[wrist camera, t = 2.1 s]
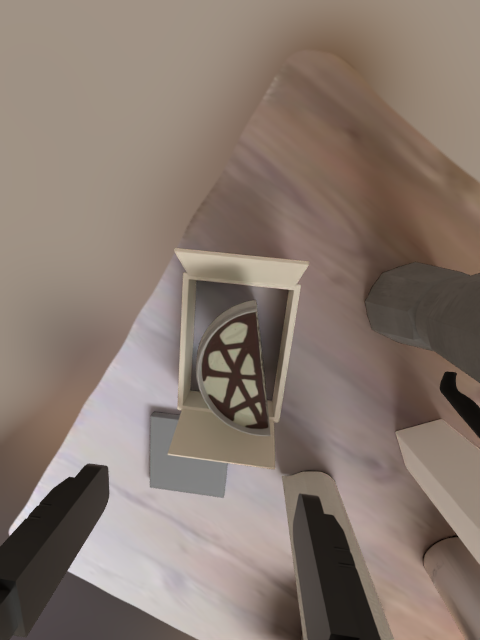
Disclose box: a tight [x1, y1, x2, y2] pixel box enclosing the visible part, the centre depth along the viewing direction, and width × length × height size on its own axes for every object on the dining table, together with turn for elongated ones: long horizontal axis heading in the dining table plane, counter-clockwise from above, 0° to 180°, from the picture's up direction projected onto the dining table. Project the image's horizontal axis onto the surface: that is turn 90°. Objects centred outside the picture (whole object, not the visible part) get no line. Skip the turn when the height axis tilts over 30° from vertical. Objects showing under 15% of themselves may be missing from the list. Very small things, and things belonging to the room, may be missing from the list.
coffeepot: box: [365, 262, 480, 438], centre depth 18 cm, size 15×9×18 cm, turn 177°
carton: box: [168, 248, 309, 469], centre depth 25 cm, size 12×20×8 cm, turn 174°
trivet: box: [150, 412, 228, 498], centre depth 32 cm, size 11×12×1 cm
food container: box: [196, 300, 271, 436], centre depth 24 cm, size 12×6×10 cm, turn 7°
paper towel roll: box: [282, 472, 394, 640], centre depth 22 cm, size 7×6×21 cm
